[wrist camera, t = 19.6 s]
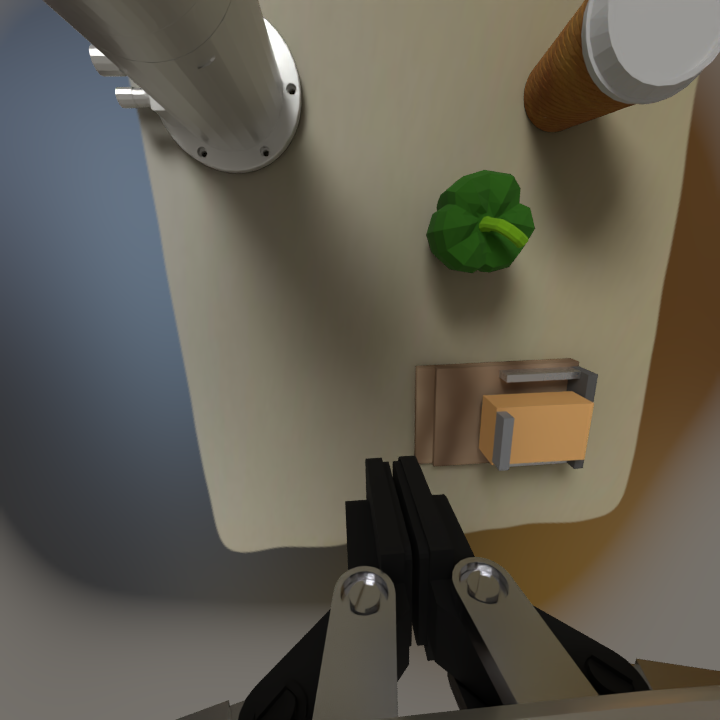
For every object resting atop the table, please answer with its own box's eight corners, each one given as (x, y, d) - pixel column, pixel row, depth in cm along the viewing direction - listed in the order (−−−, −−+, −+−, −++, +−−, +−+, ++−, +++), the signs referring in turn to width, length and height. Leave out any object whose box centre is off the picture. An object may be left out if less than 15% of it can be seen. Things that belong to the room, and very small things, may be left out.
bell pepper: (400, 218, 35) (426, 202, 25) (472, 169, 34) (526, 133, 24) (441, 290, 37) (479, 300, 27) (509, 245, 36) (572, 240, 27)
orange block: (474, 442, 41) (498, 474, 35) (478, 391, 39) (504, 414, 33) (557, 438, 41) (595, 468, 35) (565, 387, 39) (605, 409, 33)
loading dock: (414, 460, 42) (423, 483, 38) (415, 365, 39) (425, 378, 35) (557, 451, 43) (582, 472, 39) (570, 358, 40) (598, 370, 36)
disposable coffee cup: (578, 164, 35) (700, 116, 23) (491, 132, 33) (574, 64, 22) (622, 54, 32) (782, -61, 21) (530, 15, 31) (646, -131, 19)
